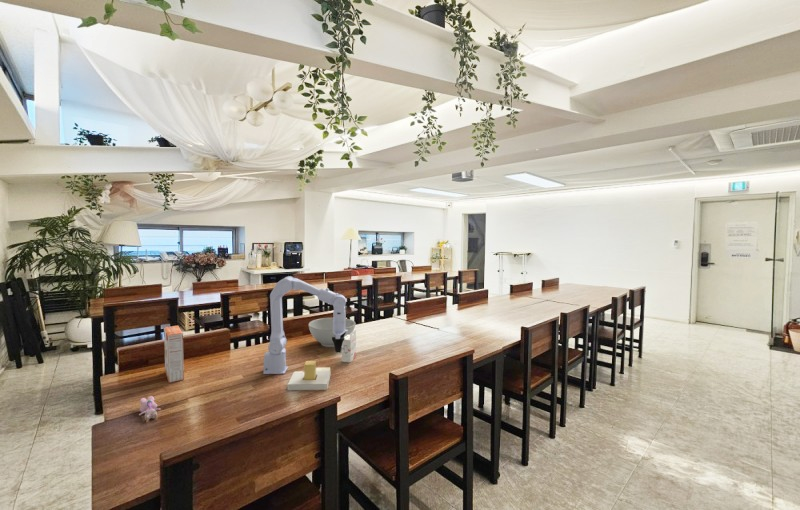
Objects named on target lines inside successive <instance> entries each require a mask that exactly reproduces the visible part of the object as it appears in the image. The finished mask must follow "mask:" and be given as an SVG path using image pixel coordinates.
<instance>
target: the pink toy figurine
mask: <svg viewBox="0 0 800 510" xmlns="http://www.w3.org/2000/svg"><path fill="white" fill-rule="evenodd" d="M139 403H140V405H141V406H140V408H139V412H140V413H138V415H139V416H142V415H143V414H144V420H145V422H146V423H147V424H148V422H149V421H150V420H151V419H154V420H156V421H157V420H159V418H158V412H157V411H161V410H162V409H161V408H160V407H159V408H158V404H157V403H156V402H155V397H154V396H152V395H150V396H147V398H146V397H142V398H140V400H139Z"/></svg>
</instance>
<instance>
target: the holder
mask: <svg viewBox="0 0 800 510" xmlns="http://www.w3.org/2000/svg"><path fill="white" fill-rule="evenodd" d="M331 374H332V373H331V370H330V371H316V380H304V371H301V370H300V371H293V373H292V375H291V377H290V379H289V380H288V383H287V391H322V390H323V391H324V390H325V391H326V390H328V388H329V383H330V381H331V380H330V379H331Z"/></svg>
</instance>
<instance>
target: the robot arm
mask: <svg viewBox="0 0 800 510" xmlns="http://www.w3.org/2000/svg"><path fill="white" fill-rule="evenodd" d="M300 290H301V291H304V292H306V293H309V294H310V295H314V296H316V297H317V299H318V300H319V301H321V302H323V303H326V304H329V305H330V306H333V312H332V313H333V314H332V316H333V317H332V318H333V333H334V334H335V337H332V341H333V343H334V346H335V347H334V349H335V353H342V343H343V341H344V335H345V333H346V332H348V330H345V321H346V319H347V318H346V315H347V313H346V312H347V311H346V305H347V298H346V297H345V296H344V295H343V294H342V293H339V292H334V291H332V290H330V288H328V287H326V288H324V287H323V288H321V289H320V288H318V287H316V286H314V285H312V284H309V283H308V282H306V281H304V280H302V279H300V278H297V277H294V276H291V275H290V276H289V275H288V276H285V277H284V278H282V279H280V280H279V281H278V282H276V284H275V286H274V287H273V289H272V290H271V292H270V294H269V299H270V300H269V302H270V325H271V329H270V330H271V334H270V336H269V343H268V346H267V347H268V348H267V350H268V351H266V352H265V353H264V355H263V372H262V375H284V374H285V373H286V372H287V370H288V368H289V366H287V349H286V345H287V344H288V340H287V337H286V336H285V331H284V323H283V322H284V321H283V320H284V318H283V317H284V316H283V297H284V295H287V293H289V292H291V291H300Z"/></svg>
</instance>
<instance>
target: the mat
mask: <svg viewBox="0 0 800 510" xmlns="http://www.w3.org/2000/svg"><path fill="white" fill-rule="evenodd" d="M331 368H332V367H327V366H326V367H325V366H323V367H316V371H331Z"/></svg>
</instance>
